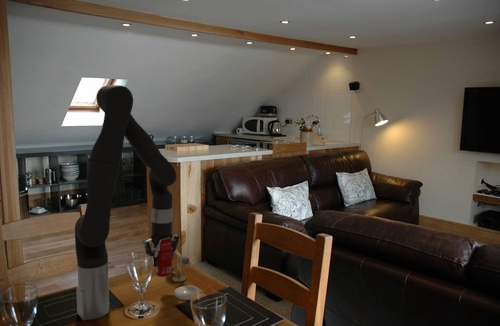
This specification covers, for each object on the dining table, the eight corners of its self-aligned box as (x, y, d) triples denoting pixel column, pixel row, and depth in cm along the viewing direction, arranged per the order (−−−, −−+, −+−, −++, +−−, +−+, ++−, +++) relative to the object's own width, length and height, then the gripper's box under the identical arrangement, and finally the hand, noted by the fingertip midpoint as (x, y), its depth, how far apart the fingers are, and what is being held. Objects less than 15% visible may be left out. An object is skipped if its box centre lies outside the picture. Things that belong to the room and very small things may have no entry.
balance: (182, 287, 150) (182, 257, 149) (165, 275, 160) (165, 247, 159) (193, 283, 154) (193, 254, 152) (176, 272, 164) (176, 245, 162)
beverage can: (173, 272, 149) (174, 233, 148) (168, 279, 143) (169, 239, 141) (158, 270, 150) (159, 232, 148) (152, 277, 144) (153, 238, 142)
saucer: (182, 302, 139) (182, 299, 139) (170, 293, 146) (170, 290, 145) (204, 295, 145) (204, 292, 144) (191, 286, 151) (191, 283, 151)
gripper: (148, 225, 136) (147, 272, 138) (184, 219, 145) (183, 263, 147) (138, 220, 141) (138, 265, 143) (174, 214, 151) (172, 257, 153)
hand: (161, 264), depth 145 cm, fingers closed on beverage can, 4 cm apart
